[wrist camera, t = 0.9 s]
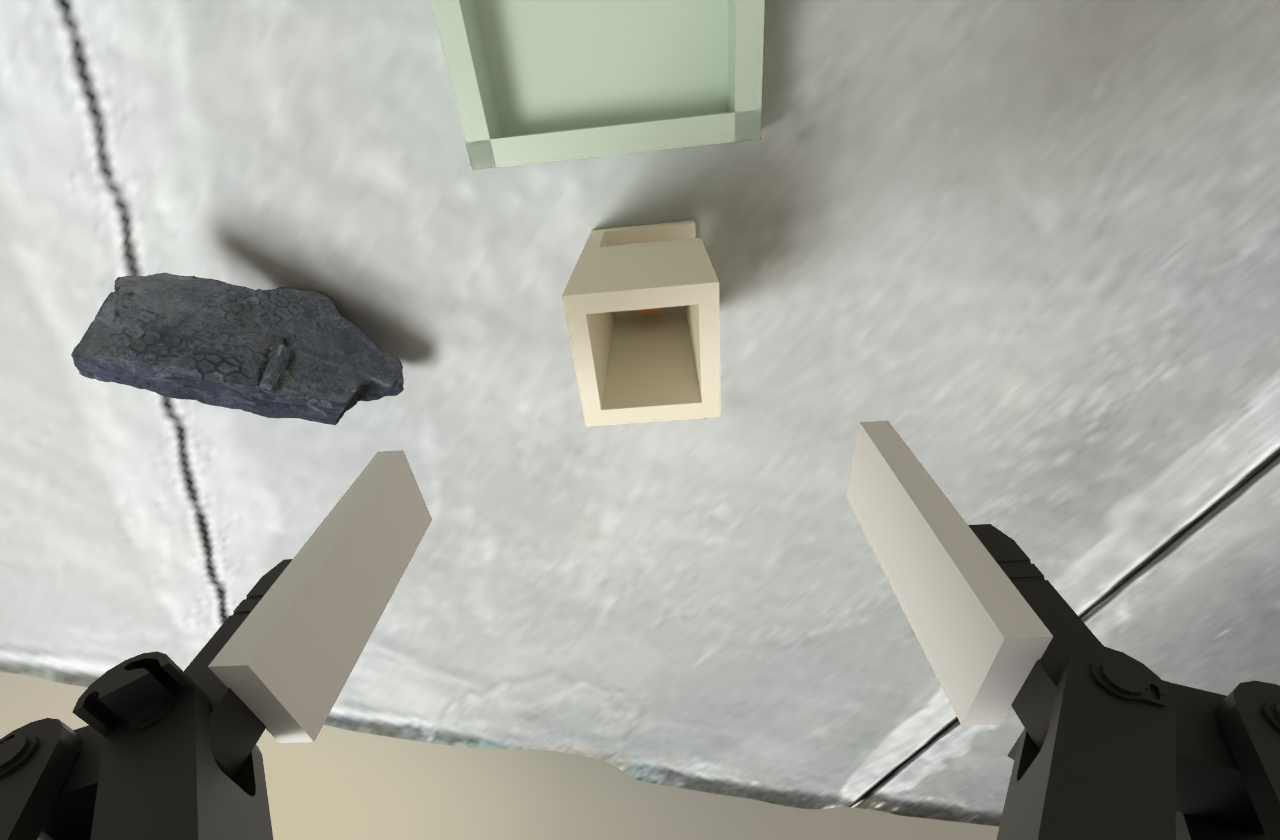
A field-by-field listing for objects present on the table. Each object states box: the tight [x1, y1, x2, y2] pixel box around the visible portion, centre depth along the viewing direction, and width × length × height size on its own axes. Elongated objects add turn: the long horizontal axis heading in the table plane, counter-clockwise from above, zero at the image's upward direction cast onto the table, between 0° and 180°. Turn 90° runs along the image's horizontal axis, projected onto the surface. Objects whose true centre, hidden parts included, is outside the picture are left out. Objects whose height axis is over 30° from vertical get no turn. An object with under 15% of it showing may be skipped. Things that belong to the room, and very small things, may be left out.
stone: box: [71, 273, 404, 425], centre depth 28 cm, size 14×6×10 cm, turn 76°
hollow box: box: [562, 220, 720, 427], centre depth 25 cm, size 6×6×12 cm
